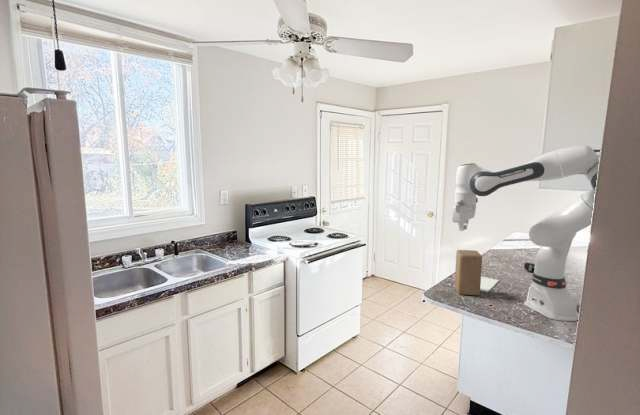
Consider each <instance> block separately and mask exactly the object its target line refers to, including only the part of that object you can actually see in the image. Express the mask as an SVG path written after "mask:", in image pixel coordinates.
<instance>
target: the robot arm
mask: <svg viewBox="0 0 640 415" xmlns="http://www.w3.org/2000/svg"><path fill="white" fill-rule="evenodd" d="M600 150H601V149H594V148H593V147H591V146H589V145H586V144H581V145H573V146H568V147H563V148H558V149H556V150H555V149H554V150H551V151H547V152H545V153H542V154H541V155H539V156H537V157H534V158H532V159H531V160H529V161H527V162H525V163H523V164H521V165H518V166H515V167H511V168H508V169H504V170H500V171H492V170H488V169H485V168H482V167H481V166H479V165H478V164H477V163H473V162H471V163H463V164H461V165H459V166H458V167H457V169H456V173H455V183H454V184H455V191H454V197H453V198H454V200H453V203H454V204H455V205H454V206H453V208H452V209H453V210H452V218H451V220H452V223H456V224H457V225H458V230H459V231H460V232H463V231H465V230H467V229H468V225H469V222H470V220H471V219H474V218H475V215H476V211H477V210H476V209H477V203H478V202H479V198H478V197H477V196H479V197H487V196H489V195H491V194H492V193H494V192H497V191H498V190H499V189H501V188H504V187H507V186H510V185H511V186H512V185H515V184H518V183H524V182H531V181H532V182H533V181H534V182H538V181H539V182H541V181H552V180H558V179H563V178H567V177H568V178H569V177H571V176H575V175H584V176H586V178H587V180H588V181H589V182H590V185H591V187H590V188H589V189H588V190H586V191H585V192H583V193H582V194H581V195H579V196H578V197H576V198H575V199H574V200H572V201H570V202H569V203H568V204H567V205H565V206H563V207H562V208H560V209H559V210H557V211H555V212H553V213H551V214H550V215H548V216H546V217H545V218H543V219H541V220H540V221H539V222H537V223H535V224H534V225H532V226H531V227H530V228H529V230H528V237H529V240H530V241H531V242H532V243H533V244H534V245H536V246H539V249H538V252H537V253H536V255H535V260H534V264H535V267H534V272H532V275H531V276H532V277H531V280H532V282H531V284H530V286H529V287H528V292H527V297H526V300H525V301H524V302H523V305H524V306H526V307H528V308H529V309H531V310H534V311H535V312H537V313H539V314H541V315H543V316H544V317H546V318H548V319H550V320H554V321H559V322H562V321H563V322H577V320H578V314H580V313H579V312H578V311H577V309H578V305H577V300H576V298H574V297H573V296H572V295H571V293H570V291H569V290H568V289H567V286H568V283H569V282H566V278H565V270H566V263H567V257H568V254H569V252H570V249H571V246H572V242H573V240H574V238H575V236H576V235H577V233H578V232H580V231H581V230H582V231H583V230H584V229H586V228H588V227H589V226H592V224H591V218H592V211H593V203H594V194H595V187H596V180H597V173H598V164H599V157H600Z"/></svg>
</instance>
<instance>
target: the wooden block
mask: <svg viewBox="0 0 640 415" xmlns="http://www.w3.org/2000/svg"><path fill="white" fill-rule="evenodd" d="M482 265H483V256H482V254H481V253H480V252H479V251H478V250H470V249H469V250H468V249H457V250H456V256H455V272H454V273H455V276H454V288H455V290H456V291H457V294H459V295H467V296H480V293H481V291H480V284H481V276H482Z"/></svg>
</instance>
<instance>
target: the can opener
mask: <svg viewBox="0 0 640 415" xmlns="http://www.w3.org/2000/svg"><path fill="white" fill-rule="evenodd" d="M534 267H535V263H531V262H525V263H524V266H523V268H524V270H526V271H527V272H528V273H533V272H534Z"/></svg>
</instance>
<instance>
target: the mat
mask: <svg viewBox="0 0 640 415" xmlns="http://www.w3.org/2000/svg"><path fill="white" fill-rule="evenodd" d="M499 281H500V280H499V279H496V278H491V277H487V276H486V277H485V276H482V275H481V284H480V292H482V293H483V292H484V293H489V291H491V290H492V289H493V287H495V286H496V284H497V283H498V282H499Z"/></svg>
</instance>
